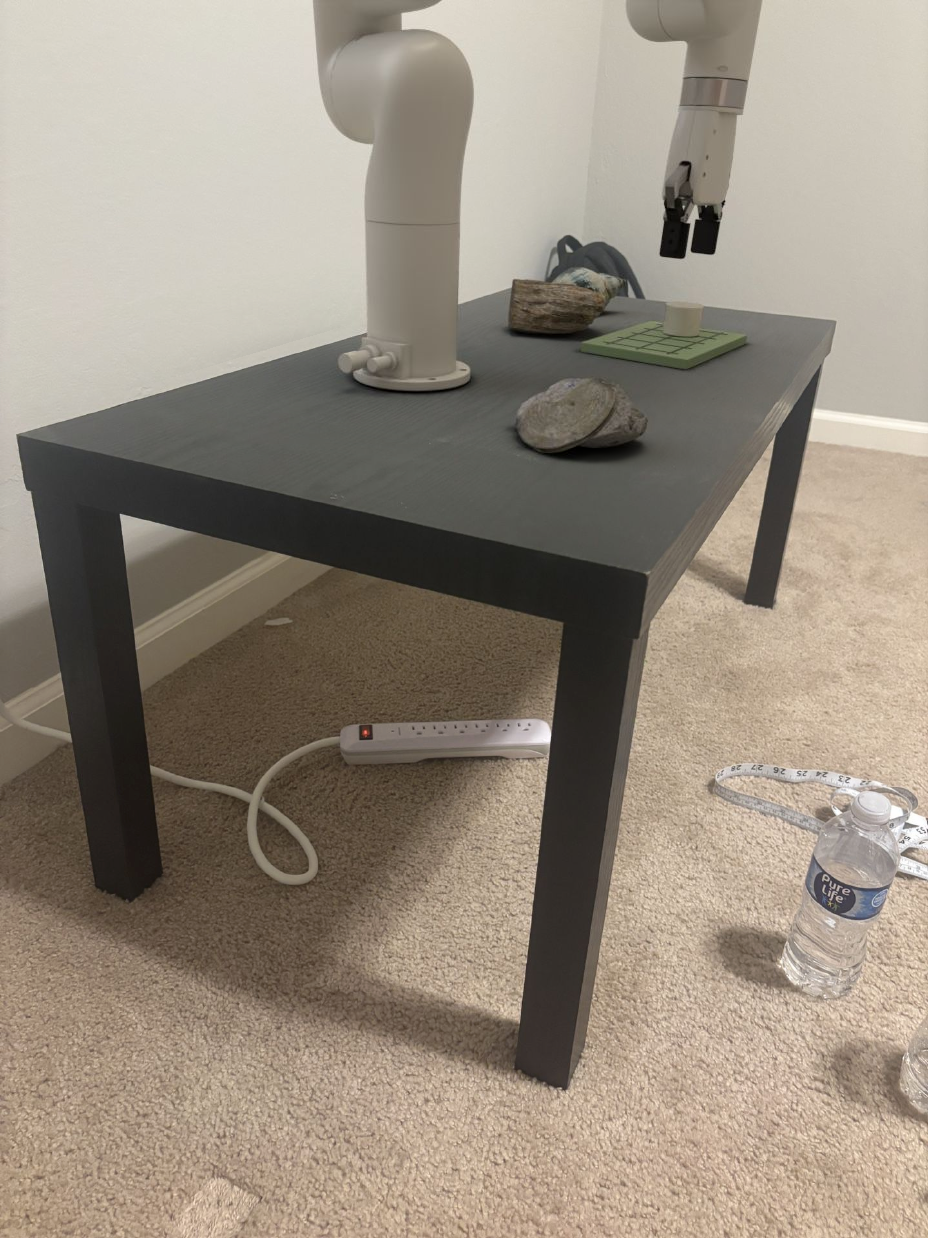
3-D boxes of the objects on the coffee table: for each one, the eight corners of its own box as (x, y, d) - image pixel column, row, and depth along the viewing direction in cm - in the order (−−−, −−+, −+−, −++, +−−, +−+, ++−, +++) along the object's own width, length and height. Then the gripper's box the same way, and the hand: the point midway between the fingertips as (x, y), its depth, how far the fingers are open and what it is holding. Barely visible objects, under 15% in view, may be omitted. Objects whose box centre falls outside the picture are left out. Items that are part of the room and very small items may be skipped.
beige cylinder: (690, 338, 115) (695, 308, 114) (656, 333, 118) (660, 304, 116) (705, 333, 119) (709, 304, 117) (671, 327, 121) (675, 299, 120)
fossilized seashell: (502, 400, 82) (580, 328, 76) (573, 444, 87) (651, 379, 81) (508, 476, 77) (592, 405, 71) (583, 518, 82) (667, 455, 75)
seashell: (546, 316, 142) (620, 323, 138) (532, 301, 135) (610, 308, 131) (553, 275, 141) (628, 280, 137) (540, 258, 134) (619, 263, 130)
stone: (608, 299, 127) (606, 248, 118) (605, 361, 124) (603, 313, 114) (513, 302, 130) (504, 253, 120) (508, 363, 126) (498, 317, 117)
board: (686, 369, 105) (687, 358, 105) (580, 351, 112) (581, 341, 112) (745, 343, 120) (747, 334, 119) (649, 329, 127) (650, 319, 126)
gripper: (709, 103, 114) (686, 249, 122) (651, 92, 101) (630, 256, 109) (767, 104, 110) (740, 255, 118) (715, 93, 97) (688, 262, 105)
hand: (687, 255), depth 114 cm, fingers open, 9 cm apart
